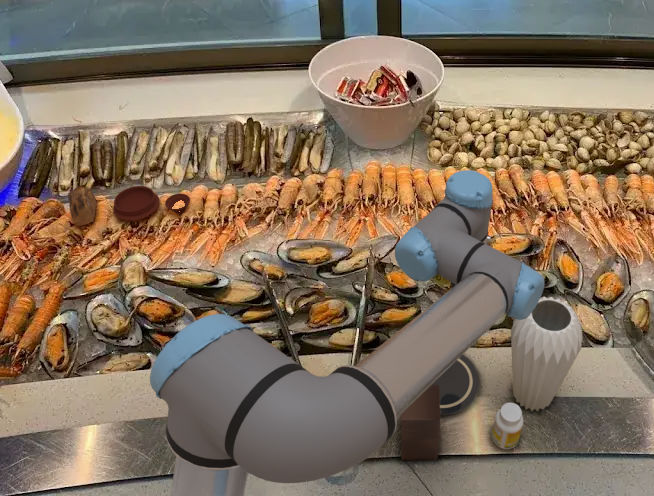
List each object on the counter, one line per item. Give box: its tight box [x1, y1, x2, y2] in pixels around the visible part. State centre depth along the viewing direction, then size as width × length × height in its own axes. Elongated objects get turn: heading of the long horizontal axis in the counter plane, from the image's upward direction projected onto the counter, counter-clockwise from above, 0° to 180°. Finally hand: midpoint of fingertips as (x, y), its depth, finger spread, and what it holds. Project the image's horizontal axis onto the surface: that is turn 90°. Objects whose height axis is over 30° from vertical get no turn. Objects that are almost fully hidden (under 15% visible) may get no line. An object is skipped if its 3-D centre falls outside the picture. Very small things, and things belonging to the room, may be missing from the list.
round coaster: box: [432, 354, 480, 417], centre depth 139 cm, size 16×16×1 cm
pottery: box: [112, 185, 191, 222], centre depth 176 cm, size 12×20×4 cm, turn 92°
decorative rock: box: [67, 186, 98, 227], centre depth 171 cm, size 12×6×11 cm, turn 18°
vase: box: [510, 296, 584, 412], centre depth 129 cm, size 13×13×26 cm
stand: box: [400, 385, 442, 461], centre depth 124 cm, size 7×7×15 cm
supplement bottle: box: [491, 402, 524, 450], centre depth 127 cm, size 5×5×10 cm
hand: (457, 330), depth 131 cm, fingers closed on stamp, 4 cm apart
